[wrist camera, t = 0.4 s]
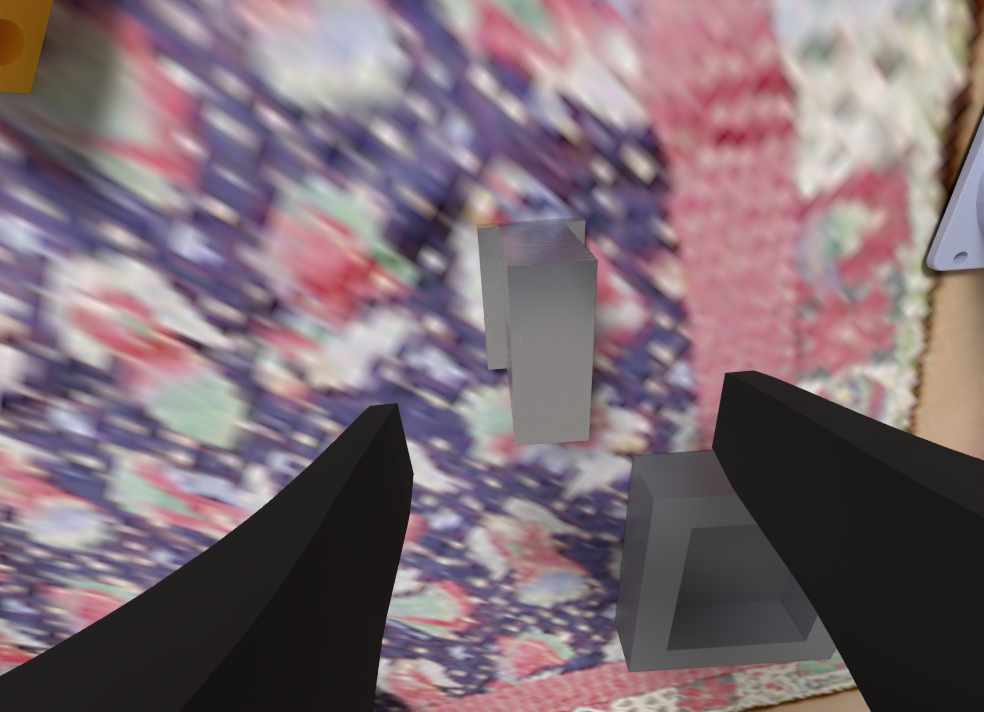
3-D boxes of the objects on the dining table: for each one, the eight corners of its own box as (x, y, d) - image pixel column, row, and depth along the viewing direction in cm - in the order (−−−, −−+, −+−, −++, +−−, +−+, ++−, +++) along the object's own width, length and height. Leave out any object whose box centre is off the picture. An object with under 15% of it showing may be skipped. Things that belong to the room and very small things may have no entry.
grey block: (580, 216, 17) (627, 257, 12) (576, 354, 20) (613, 439, 14) (477, 224, 17) (476, 268, 12) (487, 360, 20) (491, 447, 14)
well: (868, 439, 22) (921, 481, 20) (797, 609, 29) (830, 658, 26) (633, 455, 22) (654, 500, 20) (615, 621, 29) (629, 672, 26)
